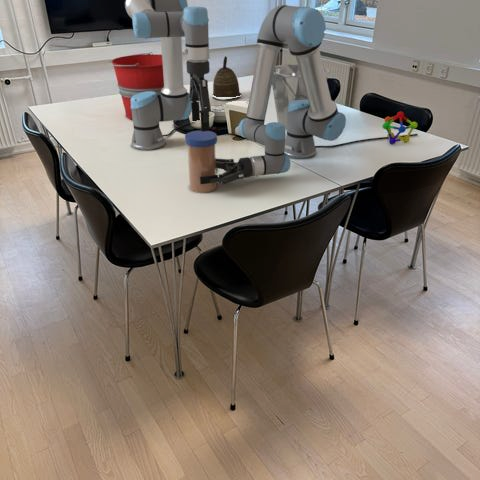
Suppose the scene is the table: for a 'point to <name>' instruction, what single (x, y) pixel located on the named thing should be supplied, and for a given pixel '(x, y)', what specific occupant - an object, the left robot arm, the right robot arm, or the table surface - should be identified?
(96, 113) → the table surface
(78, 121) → the table surface
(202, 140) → the lid
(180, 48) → the left robot arm
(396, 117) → the educational toy
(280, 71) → the bucket
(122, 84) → the bucket
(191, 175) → the jar
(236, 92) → the bell
